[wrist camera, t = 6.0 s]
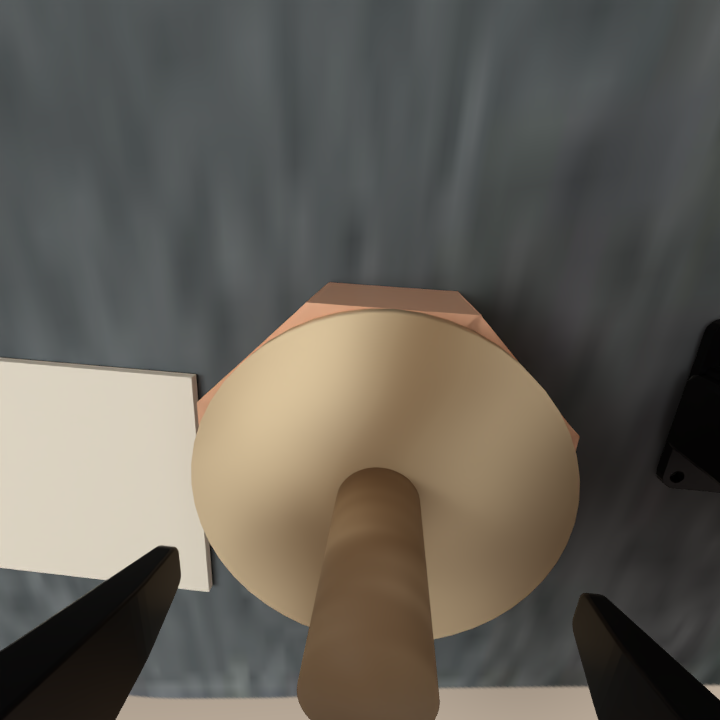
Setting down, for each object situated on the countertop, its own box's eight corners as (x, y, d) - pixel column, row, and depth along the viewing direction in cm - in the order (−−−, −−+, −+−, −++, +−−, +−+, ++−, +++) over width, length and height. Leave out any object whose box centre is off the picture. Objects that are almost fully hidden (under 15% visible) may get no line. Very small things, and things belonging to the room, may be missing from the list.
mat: (196, 374, 16) (191, 377, 16) (212, 584, 19) (208, 591, 19) (-63, 352, 17) (-73, 354, 16) (-1, 560, 20) (-9, 566, 20)
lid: (611, 325, 10) (870, 442, 5) (527, 637, 14) (616, 914, 8) (190, 293, 11) (-22, 363, 5) (213, 600, 14) (101, 834, 9)
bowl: (551, 297, 14) (610, 324, 10) (497, 548, 17) (526, 638, 14) (241, 275, 14) (187, 293, 11) (250, 522, 18) (212, 601, 14)
